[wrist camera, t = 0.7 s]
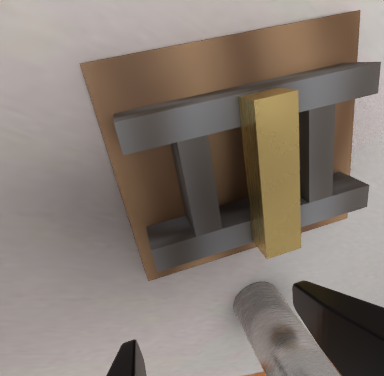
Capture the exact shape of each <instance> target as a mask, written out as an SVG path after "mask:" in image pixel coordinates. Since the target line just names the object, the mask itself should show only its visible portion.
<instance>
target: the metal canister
mask: <svg viewBox="0 0 384 376" xmlns="http://www.w3.org/2000/svg"><path fill="white" fill-rule="evenodd" d="M233 307H234V312H235V314H236V316H237V318H238V320H239V322H240V324H241V326H242V328H243V330H244V332H245V334H246V336H247V338H248V340H249V342H250V344H251V346H252V348H253V350H254V352H255V354H256V356H257V358H258V360H259V362H260V364H261V366H262V368H263V370H264V372H265V374H266V376H340V374H339V373H338V372H337V370H336V369H335V368H334V366H333V365H332V364H331V362H330V361H329V359H328V358H327V357H326V355H325V354H324V353H323V351H322V350H321V349H320V347H319V346H318V345H317V343H316V342H315V341H314V339H313V338H312V336H311V335H310V334H309V332H308V331H307V330H306V328H305V327H304V326H303V324H302V323H301V322H300V320H299V319H298V318H297V316H296V315H295V313H294V312H293V311H292V309H291V308H290V307H289V305H288V304H287V303H286V301H285V300H284V299H283V297H282V296H281V294H280V293H279V292H278V290H277V289H276V288H275V287H274V286H273V285H272V284H270V283H268V282H257V283H254V284H251V285H249V286H247V287H246V288H244V289H243V290H242V291H241V292H240V293H239V294H238V296H237V297H236V299H235V301H234V306H233Z"/></svg>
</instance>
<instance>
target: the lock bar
mask: <svg viewBox="0 0 384 376" xmlns="http://www.w3.org/2000/svg"><path fill="white" fill-rule="evenodd" d="M238 102H239V111H240V121H241V130H242V140H243V150H244V159H245V169H246V179H247V188H248V198H249V208H250V217H251V227H252V236H253V242H254V243H255V245H256V246H257V247H258V248H259V250H260V251H261V252H262V253H263V255H264V256H265V257H266V258H267V259H268V258H271V257H274V256H277V255H281V254H284V253H287V252H290V251H293V250H296V249H299V248H301V215H300V158H299V100H298V90H294V89H286V88H278V87H277V88H273V89H269V90H264V91H260V92H255V93H251V94H247V95H242V96H238Z"/></svg>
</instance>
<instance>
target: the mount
mask: <svg viewBox="0 0 384 376" xmlns="http://www.w3.org/2000/svg"><path fill="white" fill-rule="evenodd" d="M359 24H360V10H358V11H353V12H348V13H343V14H337V15H332V16H327V17H322V18H316V19H311V20H306V21H301V22H295V23H290V24H285V25H280V26H274V27H269V28H264V29H259V30H253V31H248V32H243V33H238V34H233V35H227V36H222V37H217V38H212V39H206V40H201V41H196V42H191V43H185V44H180V45H175V46H170V47H164V48H159V49H154V50H149V51H143V52H138V53H133V54H128V55H122V56H117V57H112V58H107V59H101V60H96V61H91V62H86V63H81V64H80V66H81V69H82V72H83V75H84V79H85V82H86V85H87V88H88V91H89V94H90V98H91V101H92V104H93V107H94V110H95V113H96V117H97V120H98V123H99V126H100V129H101V133H102V136H103V139H104V142H105V145H106V148H107V152H108V155H109V158H110V161H111V164H112V167H113V171H114V174H115V177H116V180H117V183H118V186H119V190H120V193H121V196H122V199H123V202H124V206H125V209H126V212H127V215H128V218H129V221H130V225H131V228H132V231H133V234H134V237H135V240H136V244H137V247H138V250H139V253H140V256H141V259H142V263H143V266H144V269H145V272H146V275H147V279H148V281H150V280H154V279H157V278H160V277H163V276H166V275H169V274H172V273H176V272H179V271H182V270H185V269H188V268H191V267H195V266H198V265H201V264H204V263H207V262H210V261H213V260H217V259H220V258H223V257H226V256H229V255H232V254H236V253H239V252H242V251H245V250H248V249H251V248H255V247H257V246H256V245H255V243H254V242H253V236H252V227H251V217H250V208H249V198H248V188H247V179H246V169H245V159H244V150H243V140H242V130H241V121H240V111H239V102H238V96H242V95H247V94H251V93H255V92H260V91H264V90H269V89H273V88H277V87H278V88H286V89H294V90H298V100H299V158H300V215H301V233H302V232H305V231H308V230H311V229H314V228H318V227H321V226H324V225H327V224H330V223H333V222H337V221H340V220H343V219H346V218H347V214H348V212H352V211H355V210H358V209H361V208H364V207H367V201H368V191H369V185H368V184H366V183H364V182H361V181H359V180H357V179H355V178H353V177H351V176H350V166H351V151H352V135H353V119H354V103H355V99H356V98H360V97H364V96H368V95H372V94H376V93H378V86H379V76H380V65H381V62H357V56H358V40H359Z"/></svg>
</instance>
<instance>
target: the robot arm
mask: <svg viewBox="0 0 384 376" xmlns="http://www.w3.org/2000/svg"><path fill="white" fill-rule="evenodd" d="M293 304H294V307H295V309H296V311H297V313H298V314H299V316H300V317H301V319H302V321H303V322H304V324H305V325H306V327H307V328H308V330H309V331H310V333H311V334H312V336H313V337H314V339H315V341H316V342H317V344H318V345H319V346H320V348H321V349H322V351H323V352H324V353H325V355H326V356H327V357H328V358H329V360H330V361H331V362H332V363H333V365H334V366H335V367H336V368H337V370H338V371H339V372H340V373H341V375H342V376H384V308H383V307H380V306H377V305H374V304H372V303H369V302H366V301H363V300H360V299H357V298H354V297H351V296H348V295H345V294H343V293H340V292H337V291H334V290H331V289H328V288H325V287H322V286H319V285H316V284H314V283H311V282H308V281H300V282H298V283H295V284H293ZM107 376H146V370H145V363H144V359H143V356H142V353H141V351H140V348H139V345H138V343H137V341H136V340H131V341H128V342H125V343H123V344H122V346H121V347H120V349H119V351H118V353H117V355H116V357H115V359H114V361H113V363H112V365H111V367H110V370H109V372H108V374H107Z"/></svg>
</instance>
